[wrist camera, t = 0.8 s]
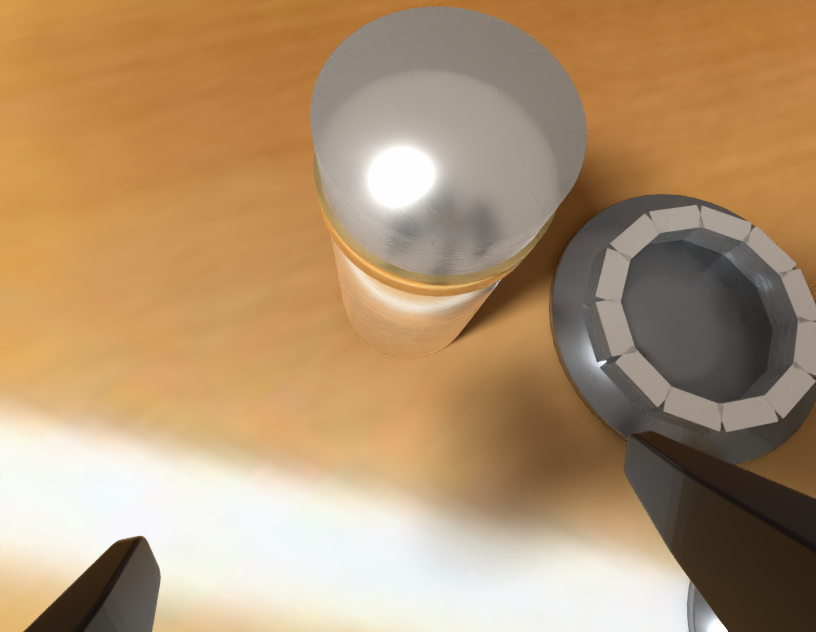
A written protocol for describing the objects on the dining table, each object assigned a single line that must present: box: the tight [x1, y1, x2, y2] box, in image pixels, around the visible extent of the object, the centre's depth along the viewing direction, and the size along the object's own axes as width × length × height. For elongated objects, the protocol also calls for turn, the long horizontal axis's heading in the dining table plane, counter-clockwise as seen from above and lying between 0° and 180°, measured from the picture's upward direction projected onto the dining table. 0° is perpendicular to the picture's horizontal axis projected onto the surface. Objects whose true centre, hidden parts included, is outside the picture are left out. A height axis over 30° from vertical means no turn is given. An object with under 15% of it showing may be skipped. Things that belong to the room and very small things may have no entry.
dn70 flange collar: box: [549, 194, 816, 464], centre depth 23 cm, size 14×14×2 cm
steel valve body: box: [310, 7, 587, 358], centre depth 17 cm, size 7×7×13 cm
